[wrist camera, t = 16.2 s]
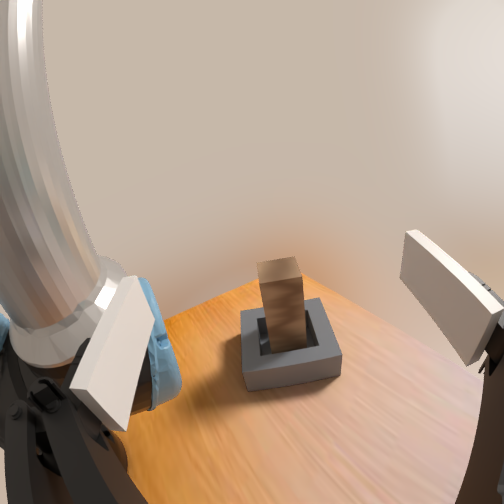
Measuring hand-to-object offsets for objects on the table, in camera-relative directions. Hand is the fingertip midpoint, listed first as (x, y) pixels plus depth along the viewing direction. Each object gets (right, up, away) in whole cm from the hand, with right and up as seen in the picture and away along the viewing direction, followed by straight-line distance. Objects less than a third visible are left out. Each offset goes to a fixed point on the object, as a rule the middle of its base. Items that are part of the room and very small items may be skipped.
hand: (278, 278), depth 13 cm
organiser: (+4, -14, +28) cm, 32 cm away
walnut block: (+4, -13, +28) cm, 31 cm away
